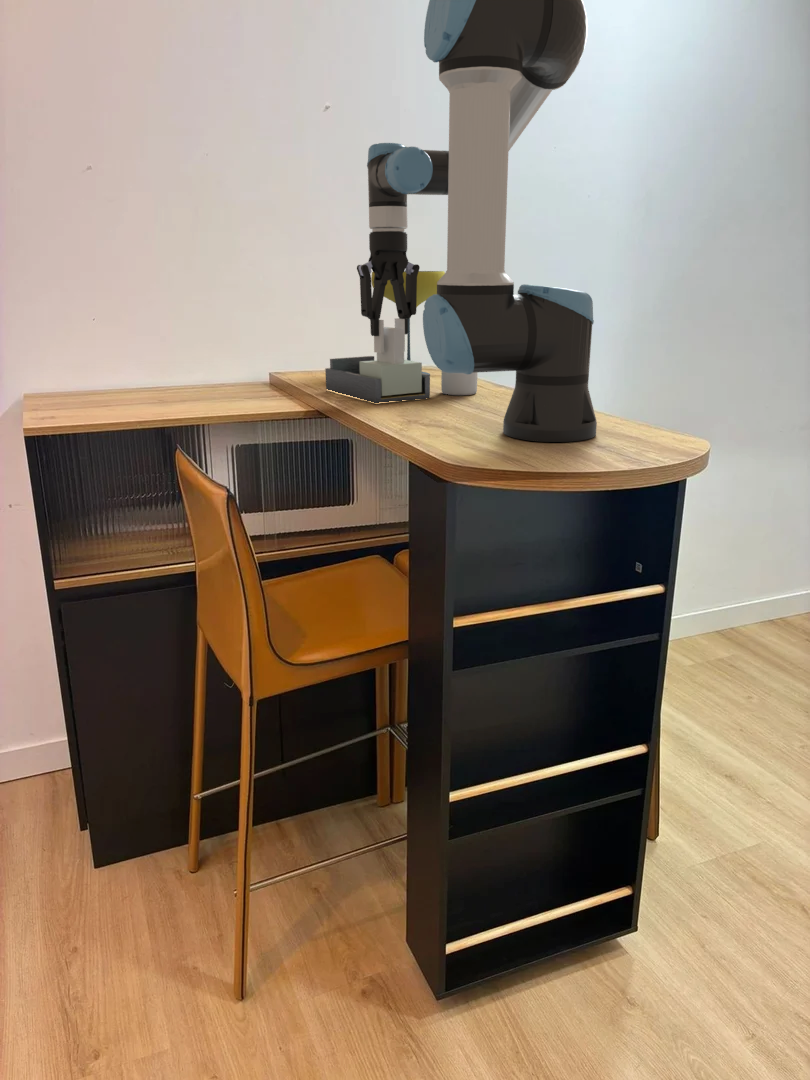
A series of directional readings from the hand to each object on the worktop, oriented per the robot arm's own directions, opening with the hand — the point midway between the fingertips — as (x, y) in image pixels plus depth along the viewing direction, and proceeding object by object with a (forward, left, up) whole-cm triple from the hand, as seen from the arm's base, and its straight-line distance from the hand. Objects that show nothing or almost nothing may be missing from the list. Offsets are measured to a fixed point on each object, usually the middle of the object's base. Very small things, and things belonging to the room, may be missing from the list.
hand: (389, 351), depth 169 cm
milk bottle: (+5, -15, -10) cm, 19 cm away
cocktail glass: (+37, -7, -10) cm, 39 cm away
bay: (+5, +3, -10) cm, 11 cm away
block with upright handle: (0, 0, -8) cm, 8 cm away
